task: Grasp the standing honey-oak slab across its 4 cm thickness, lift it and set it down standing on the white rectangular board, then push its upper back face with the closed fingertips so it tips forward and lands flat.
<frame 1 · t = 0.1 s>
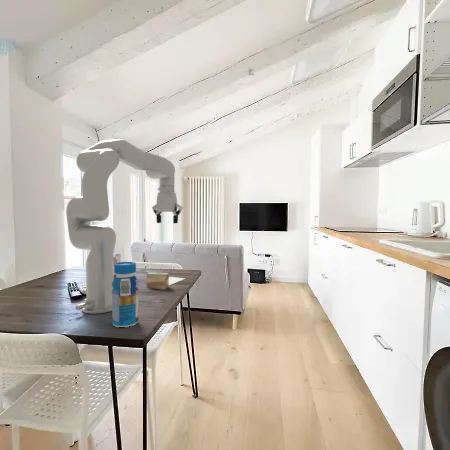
hand: (167, 223, 151), 31 cm above the table, fingers open, 9 cm apart
white rectangular board: (169, 281, 156), on the table
beverage bottle: (125, 324, 96), on the table
candy box: (107, 290, 138), on the table
oak slab: (157, 287, 143), on the table
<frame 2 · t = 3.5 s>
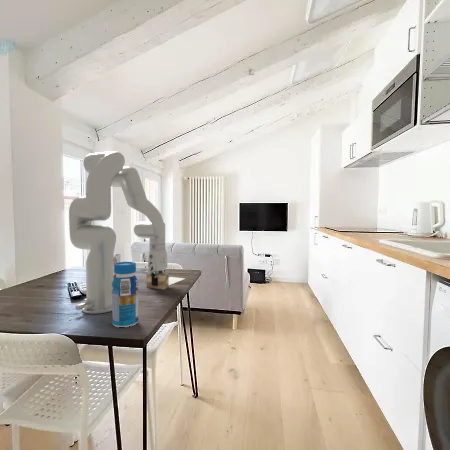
hand: (157, 284, 143), 2 cm above the table, fingers closed on oak slab, 4 cm apart
oak slab: (157, 287, 143), on the table, touching gripper
everything else where it was.
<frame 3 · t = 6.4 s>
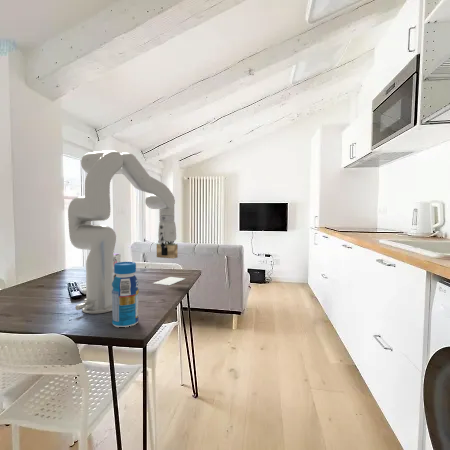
hand: (167, 254, 151), 15 cm above the table, fingers closed on oak slab, 4 cm apart
oak slab: (167, 257, 151), point 13 cm above the table, touching gripper
everything else where it was.
when the fingers open (3 cm above the table, at t = 9.3 s): oak slab drops 1 cm, resting on white rectangular board.
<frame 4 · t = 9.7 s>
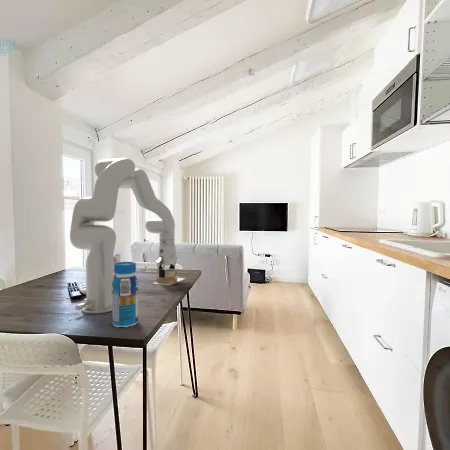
hand: (167, 275, 151), 4 cm above the table, fingers open, 8 cm apart
oak slab: (166, 282, 151), resting on white rectangular board
everything else where it was.
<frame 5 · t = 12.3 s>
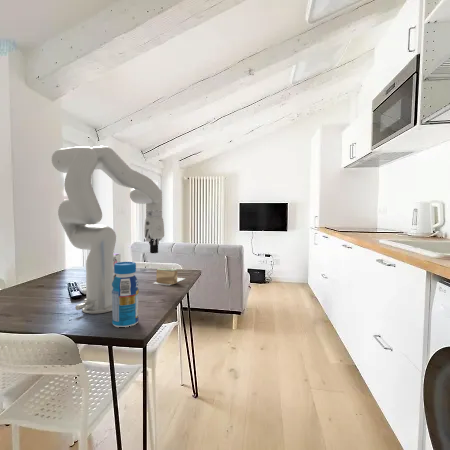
hand: (154, 252, 141), 17 cm above the table, fingers closed
nothing on the table moved.
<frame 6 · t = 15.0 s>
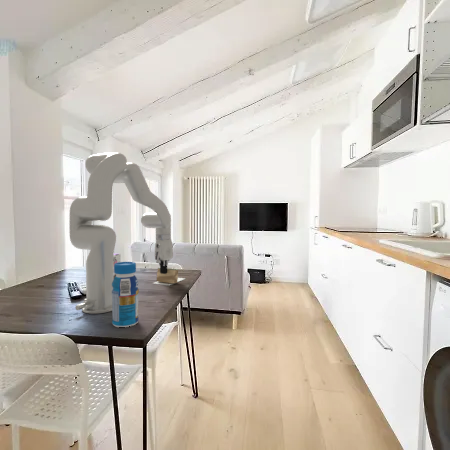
hand: (163, 273, 148), 6 cm above the table, fingers closed
oak slab: (166, 282, 151), point 1 cm above the table, tilted 8°, touching white rectangular board
everything else where it was.
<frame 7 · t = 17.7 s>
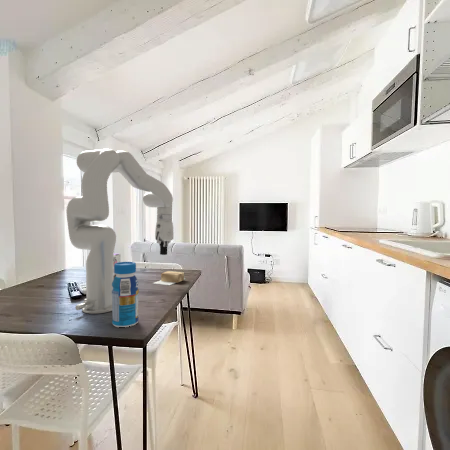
hand: (163, 254, 148), 15 cm above the table, fingers closed
oak slab: (169, 278, 153), point 2 cm above the table, tilted 90°, touching white rectangular board
everything else where it was.
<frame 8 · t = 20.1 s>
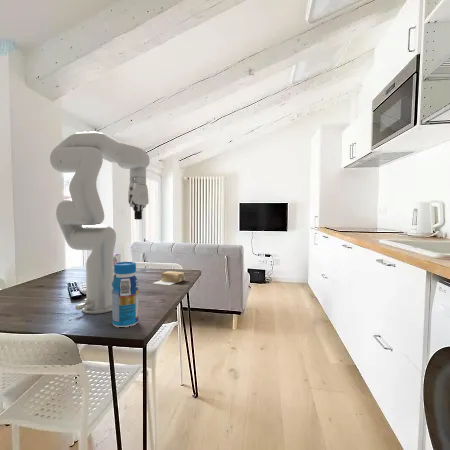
hand: (138, 219, 142), 33 cm above the table, fingers closed
nothing on the table moved.
at the end: oak slab tilted 90°; oak slab inside the target area (4.3 cm from its centre), point 2.3 cm above the table; the gripper is holding nothing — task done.
